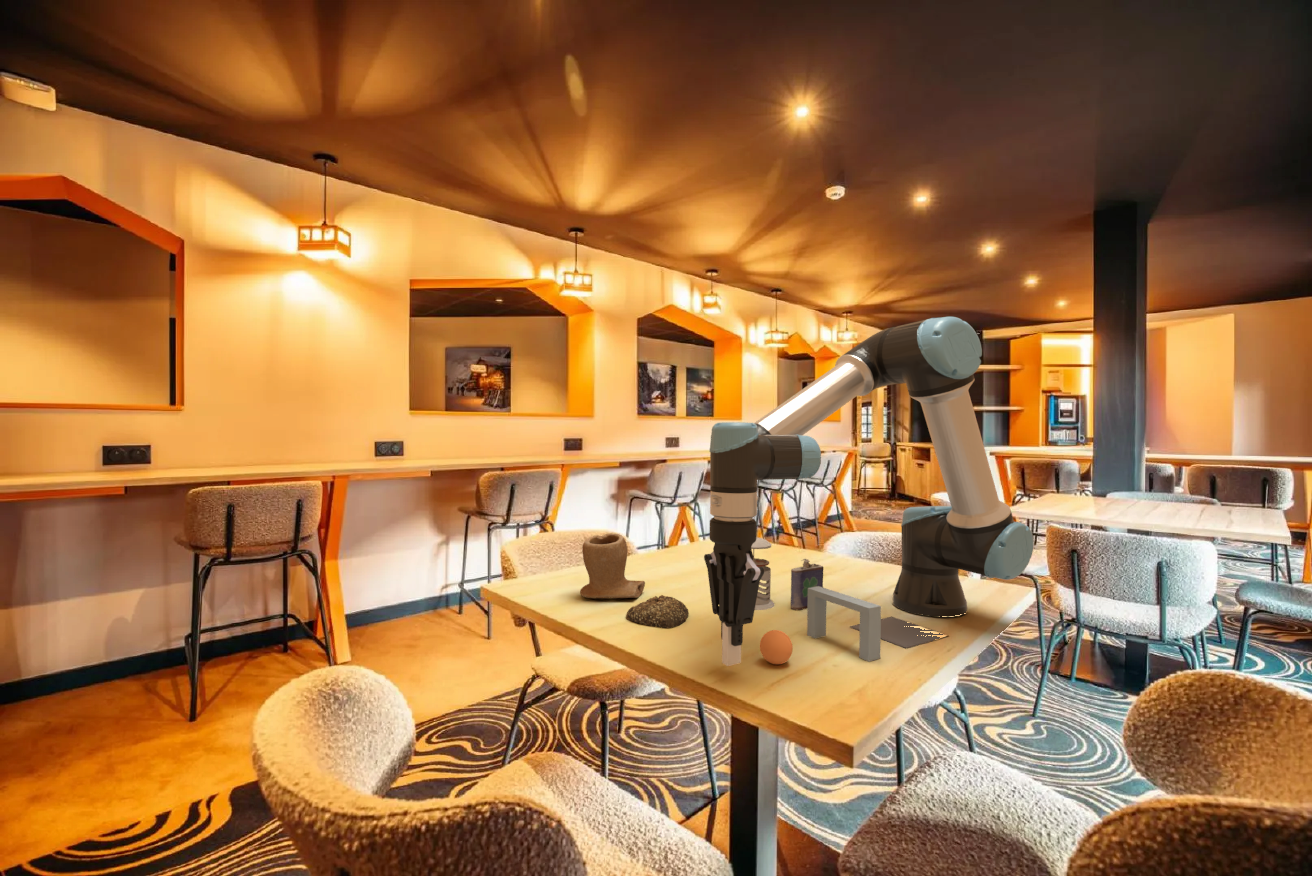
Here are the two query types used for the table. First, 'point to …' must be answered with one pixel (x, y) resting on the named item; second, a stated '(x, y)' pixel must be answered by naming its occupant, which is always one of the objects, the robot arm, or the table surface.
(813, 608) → the bridge
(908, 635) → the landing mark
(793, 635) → the table surface
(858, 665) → the table surface
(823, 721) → the table surface
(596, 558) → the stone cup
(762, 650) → the ball
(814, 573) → the flask
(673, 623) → the bread roll
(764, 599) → the french press
